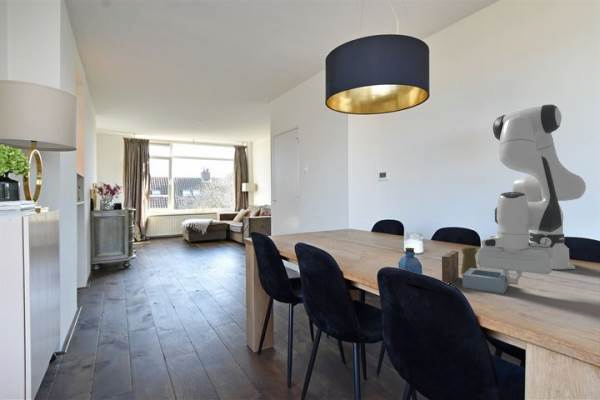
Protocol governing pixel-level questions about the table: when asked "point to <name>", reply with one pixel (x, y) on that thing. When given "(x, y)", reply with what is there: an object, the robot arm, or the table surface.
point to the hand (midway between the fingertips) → (512, 283)
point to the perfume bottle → (410, 262)
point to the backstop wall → (450, 267)
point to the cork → (468, 258)
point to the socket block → (485, 280)
